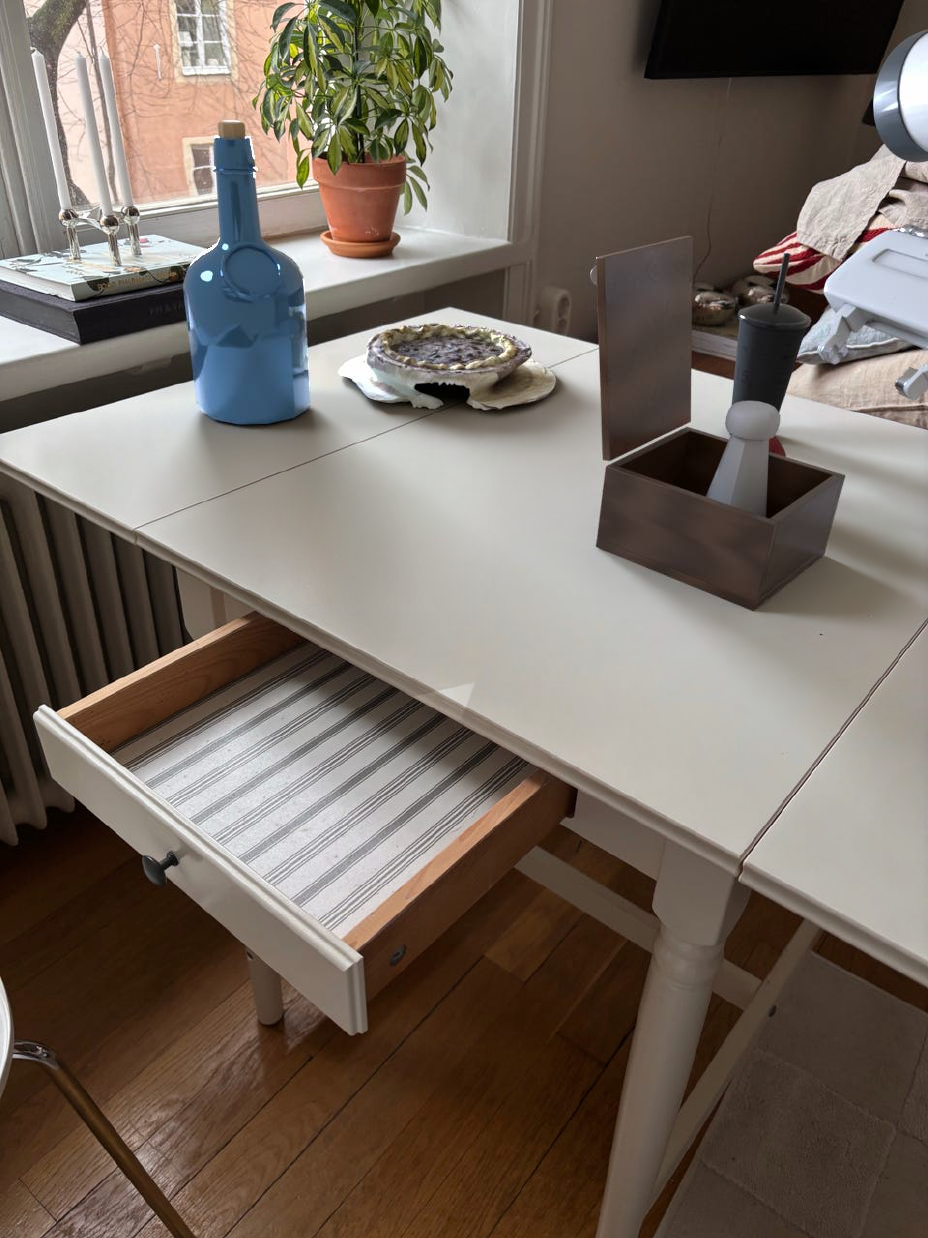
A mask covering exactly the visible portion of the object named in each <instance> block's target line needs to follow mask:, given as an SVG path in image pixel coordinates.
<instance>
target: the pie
mask: <svg viewBox="0 0 928 1238" xmlns="http://www.w3.org/2000/svg"><path fill="white" fill-rule="evenodd" d="M364 350H365V354H363V355H360V356H358V357H355V358H352V359H350V360H348V361H346V362H345V363H344V364H343V365H342V366H341V367H340V368H339V369H338V371H337V374H338V375H339V376H342V377H347V378H349V379H351V380H352V382H354V383H355V384H356V386H357V387H358V388H359V389H360V390H361V392H362V393H363V394H364V396H366V398H367V397H368V398H369V399H372V400H374V401H377V402H380V403H387V404H395V403H400V402H403V403H407V402H410V403H411V404H412V408H413V409H416V408H422V407H424V408H428V409H429V410H436V409H437V408H440V406H443V405H444V403H443V401H442V400H441V399H440V398H437V397H435V396H432V395H430V394H427V393H424V392H420V391H419V390H417V389H415V386H416V385H417V384H428V383H429V384H431V385H432V384H434V383H438V386H441V385H442V384H443V383H445V384H446V385H447V386H448V385H449V384H450V385H451V386H453V385H454V384H455V385H456V386H460V387H462V386H464V387H465V388H466V389H469V396H468V398H467V400H466V404H468V405H469V406H472V408H473V409H482V411H489V410H492V409H493V410H494V409H495V410H498V411H500V410H502V409H504V408H506V407H509V406H510V407H512V406H519V405H523V404H527V403H528V404H529V403H532V402H537V401H539V400H542V399H544V398H546V397H547V396H548V395H550V393H551V392H552V390H553V389H554V388H555V386H556V383H557V379H556V375H555V374H554V373H553V372H552V371H551V370H550V369H549V368H547V366H545V365H544V364H542V363H540V362H536V361H535V360H534V359H532V358H531V357H532V355H533V352H532V346H531V345H530V344H528V342H525V341H522V340H519V339H518V338H517V337H516V336H515V335H510V334H509V333H506V332H504V331H502V330H496V329H490V330H489V328H488V327H487V326H483V327H482V326H481V327H480V326H477V325H461V324H456V323H454V325H448V324H439V323H438V322H437V323H436V322H433V323H432V322H430V323H428V324H427V323H423V324H417V325H416V324H414V325H406V324H403V325H400V326H399V327H398V328H397V327H394V328H391V329H386V330H385V329H384V330H383V331H379V332H377V333H376V334H375V335H372V336H371V337H370V338H369V339H368V341H367V344H366V347H365V349H364Z"/></svg>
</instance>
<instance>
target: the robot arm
mask: <svg viewBox="0 0 928 1238" xmlns="http://www.w3.org/2000/svg"><path fill="white" fill-rule="evenodd" d="M872 107H873V118H874V123H875V127H876V130H877V133H878V135H879V137H880V139H881V141H882V143H883V144H884V146H885V147H886V148H887V149H888V150H889V151H890V152H891V154H892V155H894V156H895V157H897V158H899V159H900V160H902V161H905V162H908V163H919V164H920V163H926V162H928V28H926V29H924V30H921V31H918V32H916V33H914V34H912V35H910V36H909V37H907V38H905V39H904V40H902V41H901V42H900V43H899V44H897V46H895V47H894V49H893V50H892V51H891V52H890V54H889V55H888V56H887V58H886V59H885V61H884V63H883V65H882V67H881V68H880V71H879V72H878V75H877V79H876V82H875V87H874V93H873V106H872ZM823 294H824V296H825V298H826V300H827V302H828V304H829V305H830V307H831V309H832V310H833V311H834V313H835V315H834V318H833V321H832V323H831V324H832V325H831V327H830V330H829V334H828V335H827V336H826V337H825V338H824V340H822V341H821V342H820V343H819V345H818V347H817V350H816V351H817V353H818V355H819V357H820V358H821V360H823V361H825V362H827V363H830V364H832V365H838V364H839V363H840V362H841V359H843V358H845V357H846V356H847V355H848V354H849V352H850V350H849V348H848V347H847V345H846V344H847V342H848V340H849V338H850V335H851V333H853V334H856V333H858V332H859V331H860V330H861V329H863V327H864V326H865V327H868V328H870V329H872V330H875V331H877V332H880V333H883V334H884V335H885V334H886V335H888V336H889V337H893V338H895V339H898V340H900V341H903V342H906V343H908V344H911V345H913V346H916V347H918V348H921V349H924V350H926V351H928V228H922V227H919V226H918V225H915V224H912V223H911V224H909V223H907V224H903V225H902V226H901V227H896V228H893V229H887V230H885V231H883V232H881V233H880V234H878V235H876V236H874V237H873V238H872V239H870V240H869V241H868V242H866V243H865V244H864V245H862V247H860V248H859V249H858V250H856V251H855V252H854V253H853V254H852V255H851V256H850V257H849V258H847V259H846V260H845V261H844V262H843V263H842V264H841V265H840V266H838V268H837V269H836V270H835V271H833V272H832V274H831V275H829V277H828V278H827V279H826V280H825V283H824V287H823ZM894 388H895V390H897V392H898V394H899V395H901V396H903V397H905V398H907V399H908V400H911V401H913V402H915V401H918V400H919V399H920V398H921V397H922V396H923V394H925V393H926V392H927V391H928V363H926V364H924V365H922V366H921V367H918V368H917V369H916V368H915V367H911V366H909V367H908V368H907V369H906V370H904V372H903V373H902V375H901V376H899V377H897V379H896V381H895V382H894Z"/></svg>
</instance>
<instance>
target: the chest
mask: <svg viewBox="0 0 928 1238" xmlns="http://www.w3.org/2000/svg"><path fill="white" fill-rule="evenodd" d="M728 441H729V438H726V437H723V436H719V435H717V434H713V433H710V432H706V431H703V430H700V429H697V428H693V427H689V426H685V427H683V428H680V429H678V430H676V431H674V432H672V433H671V434H668V435H665V436H664V437H662V438H660V439H658V440H655V441H654V442H652V443H650V444H648V445H646V446H644V447H642V448H640V449H637V450H636V451H633V452H631V453H630V454H629V453H628V454H627V455H626V456H623V457H621V458H619V459H617V460H615V461H613V462H611V463H610V464H607V465H606V466H605V471H604V479H603V487H602V493H601V494H602V495H601V502H600V511H599V519H598V526H597V534H596V542H595V547H596V548H598V549H601V550H603V551H606V552H608V553H610V554H612V555H615V556H618V557H621V558H623V559H626V560H627V561H631V562H633V563H635V564H638V565H640V566H642V567H644V568H648V569H650V570H652V571H655V572H657V573H659V574H662V575H664V576H667V577H669V578H672V579H674V580H677V581H680V582H682V583H684V584H687V585H689V586H692V587H694V588H696V589H699V590H702V591H704V592H706V593H709V594H711V595H714V596H715V597H718V598H721V599H723V600H726V601H729V602H731V603H733V604H736V605H738V606H741V607H743V608H744V609H745V608H746V609H748V610H751V611H753V612H755V611H756V610H758V609H759V608H760V607H762V605H764V604H765V603H766V602H767V601H769V600H770V599H771V598H772V597H774V596H775V595H776V594H777V593H779V592H780V591H782V589H784V588H785V587H786V586H788V585H789V584H790V583H791V582H793V580H795V579H796V578H797V577H798V576H800V575H801V574H803V572H804V571H806V570H807V569H808V568H810V567H811V566H812V565H813V564H814V563H816V562H817V561H818V560H820V559H821V558H822V557H823V556H825V553H826V550H827V545H828V542H829V538H830V535H831V531H832V528H833V523H834V519H835V516H836V513H837V508H838V505H839V502H840V497H841V494H842V490H843V487H844V482H845V479H846V474H843V473H841V472H837V471H833V470H830V469H828V468H824V467H820V466H817V465H814V464H811V463H808V462H804V461H801V460H797V459H794V458H791V457H788V456H786V457H785V456H782V455H778V454H775V453H772V452H769V453H768V477H767V501H766V518H765V517H762V516H760V515H757V514H754V513H751V512H748V511H745V510H742V509H739V508H736V507H734V506H731V505H728V504H725V503H722V502H719V501H716V500H713V499H711V498H708V497H706V495H707V493H708V490H709V488H710V485H711V483H712V481H713V478H714V476H715V474H716V471H717V469H718V466H719V464H720V461H721V459H722V456H723V454H724V451H725V448H726V446H727V443H728Z"/></svg>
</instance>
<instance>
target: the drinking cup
mask: <svg viewBox="0 0 928 1238" xmlns="http://www.w3.org/2000/svg"><path fill="white" fill-rule="evenodd" d="M790 258H791V253H788V252H784V253H783V256H782V261H781V266H780V271H779V275H778V281H777V285H776V291H775V295H774V299H773V301H767V302H760V303H755V304H753V305H750V306H746V307H743V308H741V309H739V310H738V312H737V319H739V323H738V325H739V326H738V334H737V345H736V355H735V365H734V367H735V368H734V375H733V385H732V387H733V388H732V396H731V406H732V405H733V404H735V403H737V402H741V401H758V402H763V403H766V404H769V405H771V406H773V407H775V408H776V409H777V411H778V412H779V413H780V412H781V410H782V406H783V403H784V399H785V396H786V393H787V390H788V387H789V385H790V384H789V383H790V381H791V378H792V374H793V371H794V368H795V364H796V362H797V359H798V356H799V352H800V350H801V346H802V343H803V340H804V336H805V333H806V330H807V328H808V327H810V326H811V322H812V319H811V317H810V316H809V315H807V314H806V313H803V312H802V311H801V310H799V309H798V308H796V307H794V306H792V305H790V304H786V303H782V297H783V292H784V287H785V283H786V278H787V273H788V268H789V264H790ZM731 406H730V407H731ZM728 433H729V432H728ZM729 435H730V436H731V433H729Z"/></svg>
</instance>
